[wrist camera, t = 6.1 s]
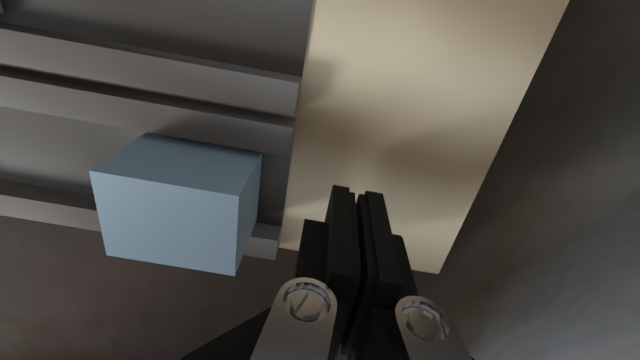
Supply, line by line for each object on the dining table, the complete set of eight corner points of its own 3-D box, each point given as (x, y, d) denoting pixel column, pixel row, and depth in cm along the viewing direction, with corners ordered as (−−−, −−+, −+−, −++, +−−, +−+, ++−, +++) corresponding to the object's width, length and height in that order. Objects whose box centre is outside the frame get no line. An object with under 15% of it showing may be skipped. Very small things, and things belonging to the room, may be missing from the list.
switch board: (427, 243, 16) (445, 292, 13) (-164, 143, 15) (-273, 173, 12) (555, -54, 10) (633, -75, 7) (-406, -249, 9) (-716, -353, 6)
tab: (256, 219, 13) (234, 276, 10) (155, 202, 13) (106, 255, 10) (262, 151, 11) (239, 196, 9) (148, 130, 11) (89, 170, 8)
